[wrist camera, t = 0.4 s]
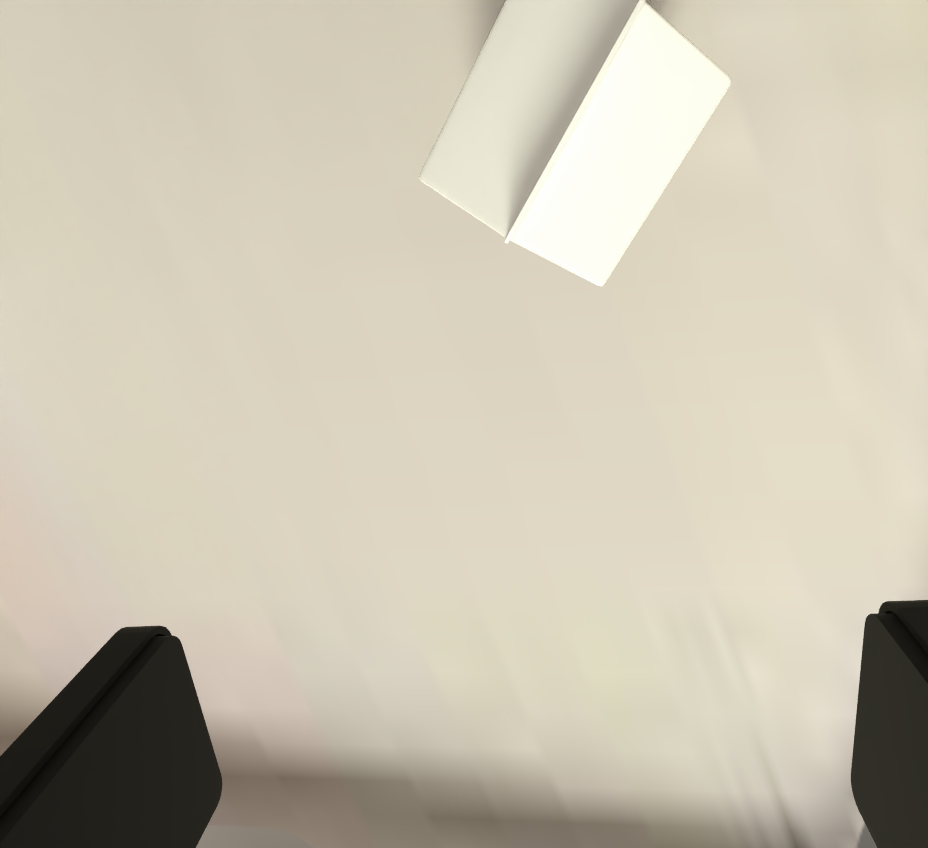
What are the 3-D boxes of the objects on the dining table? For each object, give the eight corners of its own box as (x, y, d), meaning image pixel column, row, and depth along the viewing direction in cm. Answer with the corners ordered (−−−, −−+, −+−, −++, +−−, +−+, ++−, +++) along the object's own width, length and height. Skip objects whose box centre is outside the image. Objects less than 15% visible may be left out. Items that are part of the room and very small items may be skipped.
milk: (477, 178, 36) (384, 179, 16) (536, 66, 34) (519, -106, 14) (575, 236, 37) (610, 312, 16) (640, 129, 35) (776, 56, 14)
